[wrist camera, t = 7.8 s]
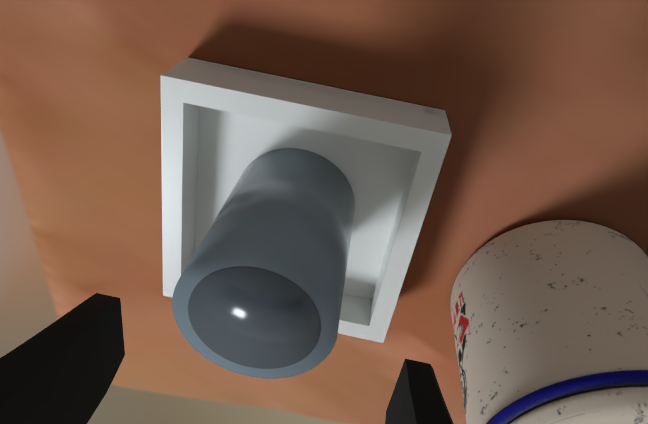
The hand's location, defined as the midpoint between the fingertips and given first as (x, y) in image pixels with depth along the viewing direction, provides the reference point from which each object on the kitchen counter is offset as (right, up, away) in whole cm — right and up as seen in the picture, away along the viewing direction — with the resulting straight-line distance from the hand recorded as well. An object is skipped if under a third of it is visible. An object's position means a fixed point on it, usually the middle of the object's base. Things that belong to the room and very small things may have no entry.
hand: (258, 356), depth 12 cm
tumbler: (0, +4, +8) cm, 9 cm away
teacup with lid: (+13, -1, +11) cm, 17 cm away
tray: (0, +4, +9) cm, 10 cm away
